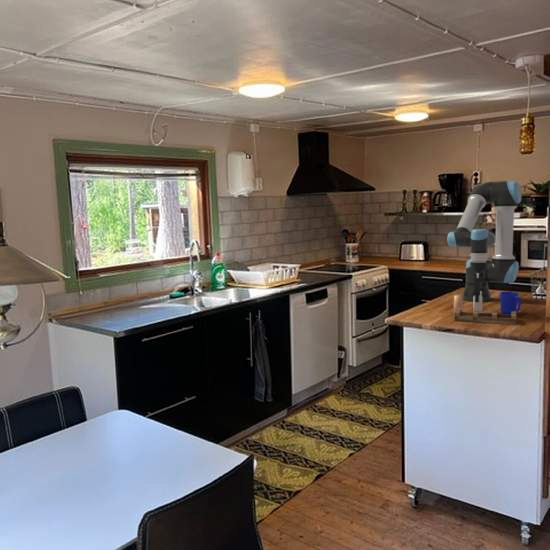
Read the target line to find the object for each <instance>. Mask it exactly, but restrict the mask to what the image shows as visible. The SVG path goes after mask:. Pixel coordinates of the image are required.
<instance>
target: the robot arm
mask: <svg viewBox="0 0 550 550" xmlns="http://www.w3.org/2000/svg"><path fill="white" fill-rule="evenodd" d="M521 201H522V189H521V186H520V183H519V182H518V181H516V180H507V181H506V180H504V181H503V180H501V181H487V182H483V183H482V184H479V185H478V186H477V187H475V188H474V189H473V191H472V192H471V193H470V194H469V196H468V198H467V204H466V207H465V210H464V211H463V213H462V216H461V218H460V220H459V223H458V225H457V227H456V229H455V231H450V232H449V233H447V239H446V240H447V244H448V246H449V247H455V248H470V254H469V257H470V259H468V260H467V261H466V263H465V265H466V266H465V287H464V288H463V292H462V296H463V300H464V301H468V302H473V297H474V309H480V296H482V303H483V302H489V301H491V300H492V295H491V292H490V289H489V283H503V284H509V283H510V284H512V283H514V282H515V281H516V279H517V277H518V274H519V269H520V265H519V262H518V261H517V260H516V257H515V256H514V255H513V251H514V250H513V246H514V244H513V243H514V242H513V241H514V221H515V220H514V219H515V216H514V215H515V209H517V207H518V204H520V203H521ZM488 204H490V205H491V204H493V208H494V209H495V211H496V214H495V215H496V216H495V219H496V220H495V234H494V233H493V232H491V231H488V229H486V228H475V229H474V227H475V225H476V222H477V220H478V218H479V217H480V213H481V212H482V209H483V208H485V206H486V205H488ZM493 245H494V246H495V247H494V249H495V250H494V251H495V252H494V253H495V254H494V255H493V256H492V257H491V260H490V259H489V257H488V256H489V255H488V249H489V248H491V247H492V246H493Z"/></svg>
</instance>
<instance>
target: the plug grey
mask: <svg viewBox="0 0 550 550" xmlns="http://www.w3.org/2000/svg"><path fill="white" fill-rule="evenodd" d="M472 303H473V306H472V308H473V309H472V312H474V297H473V301H472ZM477 310H479V313H483V302H482V296H480V309H477Z"/></svg>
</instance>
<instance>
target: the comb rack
mask: <svg viewBox="0 0 550 550" xmlns="http://www.w3.org/2000/svg"><path fill="white" fill-rule="evenodd" d="M454 322H463V323H464V322H465V323H466V322H467V323H481V324H483V323H484V324H500V325H512V326H513V325H514V326H515V325H517V312H515V311H511V314H504V313H498V310H496V309H494V310H492V312H491V313H489V312H488V313H487V312H482V313H479V310H477V309H474V312H473V311H472V312H470V311H462V312H461V309H458V308H457V309H456V311H455V314H454Z"/></svg>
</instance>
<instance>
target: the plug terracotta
mask: <svg viewBox="0 0 550 550" xmlns="http://www.w3.org/2000/svg"><path fill="white" fill-rule="evenodd" d="M457 308H458V309H461V312H463V296H462V295H461V294H460V295H459V294H455V295H453V315H455V311H456V309H457Z"/></svg>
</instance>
